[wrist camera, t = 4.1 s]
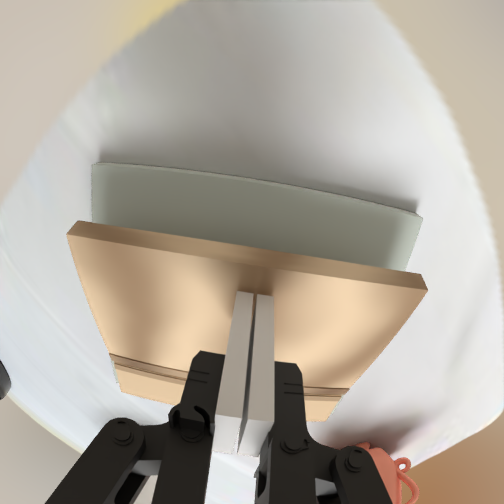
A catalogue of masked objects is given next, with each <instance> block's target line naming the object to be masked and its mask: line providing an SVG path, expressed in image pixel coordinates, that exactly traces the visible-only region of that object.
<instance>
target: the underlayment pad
mask: <svg viewBox="0 0 504 504" xmlns="http://www.w3.org/2000/svg"><path fill="white" fill-rule="evenodd" d="M422 221H423V218H422V217H420V216H419V215H418V214H416V213H413V212H409V211H405V210H402V209H398V208H394V207H390V206H386V205H382V204H377V203H373V202H369V201H365V200H360V199H356V198H352V197H347V196H342V195H338V194H333V193H328V192H323V191H318V190H313V189H308V188H303V187H298V186H292V185H287V184H281V183H275V182H270V181H264V180H257V179H251V178H245V177H238V176H231V175H224V174H217V173H209V172H202V171H193V170H185V169H176V168H167V167H157V166H146V165H134V164H121V163H106V162H99V163H96V164H93V165H92V223H98V224H105V225H112V226H118V227H125V228H132V229H138V230H145V231H151V232H158V233H164V234H171V235H177V236H184V237H190V238H197V239H203V240H210V241H216V242H223V243H229V244H236V245H242V246H248V247H255V248H261V249H267V250H274V251H280V252H286V253H293V254H299V255H305V256H312V257H318V258H324V259H330V260H337V261H343V262H349V263H355V264H361V265H368V266H374V267H380V268H386V269H392V270H398V271H404V272H405V269H406V266H407V264H408V261H409V259H410V256H411V253H412V250H413V247H414V245H415V242H416V239H417V236H418V233H419V230H420V227H421V224H422ZM111 362H112V367H113V371H114V375H115V379H116V383H119V385H120V389H121V392H124V393H127V394H131V395H134V396H138V397H142V398H146V399H150V400H154V401H158V402H162V403H167V404H171V405H177V404H178V403H180V401H181V397H182V393H183V390H184V386H185V383H186V380H187V378H182V377H177V376H172V375H167V374H163V373H158V372H154V371H150V370H145V369H141V368H137V367H134V366H130V365H126V364H122V363H119V362H115V361H112V360H111ZM343 396H344V395H335V394H309V393H304V400H305V412H306V421H326V420H327V419H328V417H329V415H330V414H333V412H334V411H335V409H336V407H337V406H338V404H339V403H340V401H341V399H342V398H343Z"/></svg>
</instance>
